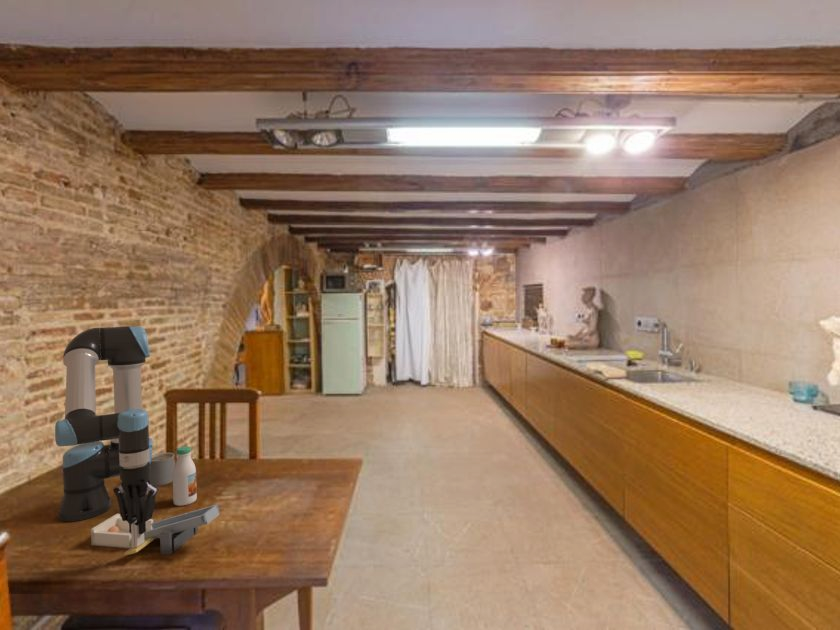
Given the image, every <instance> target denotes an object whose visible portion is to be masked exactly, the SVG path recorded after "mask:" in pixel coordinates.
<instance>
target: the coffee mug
mask: <svg viewBox="0 0 840 630" xmlns="http://www.w3.org/2000/svg"><path fill="white" fill-rule="evenodd" d="M175 456H176V455H175V453H173V452H160V453H154V454H152V459H151V464H150V476H149V480H150V482H151V486H153V487H158V486H163V485H168V484H170V483H173V469H174V466H175V464H176V462H175Z"/></svg>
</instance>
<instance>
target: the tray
mask: <svg viewBox="0 0 840 630" xmlns="http://www.w3.org/2000/svg"><path fill="white" fill-rule="evenodd" d="M153 522H154V519H152V518H151V519H149V520H148V521H146V531H148V530H151V529H153V528H152V525H151V524H152V523H153ZM112 526H117V527H118V528H119V532H118V533H116V532H108V529H109V528H110V527H112ZM90 540H91V542H90V545H91V546H97V547H106V548H107V547H108V548H119V549H130V548H132V547H133V546H132V536H131V534H130V532H129V523H128V521H123V520H122V517H121V513H116V514H114V515H112V516H111V517H109V518H107V519H105V520H104V521H102V522H101V523H98V524H97V525H96V526H93V527H92V528H91V529H90Z"/></svg>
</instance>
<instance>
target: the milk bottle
mask: <svg viewBox="0 0 840 630" xmlns="http://www.w3.org/2000/svg"><path fill="white" fill-rule="evenodd" d="M191 453H192V448H191V446H181V447H180V446H179V447H178V448H176V456H177V459H176V462H175V466H174V469H173V481H172V496H173V497H172V499H173V501H172V502H173V505H175V506H180V507H181V506H187V505H190V504H193V503H195V502H196V501H197V498H198V497H197V496H198V493H197V492H198V491H197V488H198V487H197V485H198V484H197V468H196V465H195V462H194V461H193V459H192V457H191Z"/></svg>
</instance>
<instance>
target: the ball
mask: <svg viewBox="0 0 840 630" xmlns="http://www.w3.org/2000/svg"><path fill="white" fill-rule="evenodd" d="M108 532H116V533H118V532H119V528H118V527H117V526H112V527H110V528H109V529H108Z"/></svg>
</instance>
